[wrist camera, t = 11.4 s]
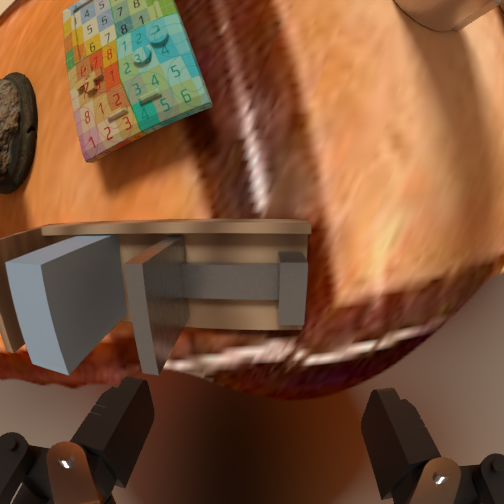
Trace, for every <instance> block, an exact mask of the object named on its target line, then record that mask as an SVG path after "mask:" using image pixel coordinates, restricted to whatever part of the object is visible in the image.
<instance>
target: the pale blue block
mask: <svg viewBox="0 0 504 504" xmlns="http://www.w3.org/2000/svg"><path fill="white" fill-rule="evenodd" d="M5 264H6V270H7V275H8V280H9V285H10V290H11V294H12V299H13V303H14V307H15V310H16V314H17V318H18V321H19V325H20V328H21V332H22V335H23V338H24V341H25V344H26V347H27V350H28V353H29V355H30V358H31V361H32V364H35V365H38V366H41V367H44V368H47V369H50V370H53V371H56V372H60V373H63V374H66V375H70V374H71V372H72V371H73V370H74V369H75V368H76V367H77V366H78V365H79V364H80V363H81V362H82V360H83V359H84V358H85V357H86V356H87V355H88V354H89V353H90V352H91V351H92V350H93V349H94V348H95V346H96V345H97V344H98V343H99V342H100V341H101V340H102V339H103V338H104V337H105V336H106V335H107V334H108V333H109V332H110V331H111V330H112V329H113V328H114V326H115V325H116V324H117V323H118V322H119V321H120V320H121V319H122V318H123V317H124V316H125V315H126V314H127V307H126V300H125V293H124V286H123V278H122V269H121V260H120V249H119V237H118V234H82V235H78V236H75V237H72V238H69V239H67V240H64V241H61V242H58V243H55V244H52V245H50V246H47V247H44V248H41V249H39V250H36V251H33V252H31V253H28V254H26V255H23V256H20V257H18V258H15V259H13V260H10V261H8V262H5Z"/></svg>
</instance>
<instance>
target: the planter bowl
mask: <svg viewBox="0 0 504 504" xmlns="http://www.w3.org/2000/svg"><path fill="white" fill-rule="evenodd" d="M500 7H501V9H502V10H503V11H504V0H501V4H500Z"/></svg>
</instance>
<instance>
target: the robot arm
mask: <svg viewBox="0 0 504 504" xmlns="http://www.w3.org/2000/svg"><path fill="white" fill-rule="evenodd" d="M394 1H395V2H396V3H397V4H398V6H399V7H400V8H401V9H402V10H403V11H404V12H405V13H406V14H407V15H409V16H410V17H411V18H412V19H414V20H415V21H417V22H418V23H420V24H421V25H423V26H425V27H427V28H429V29H432V30H435V31H440V32H445V31H449V30H452V29H453V30H455V31H459V30H461V29H462V28H464V27H465V26H467V25H468V24H470V23H471V22H473V21H474V20H476V19H478V18H479V17H481V16H482V15H484V14H485V13H487V12H489V11H490V10H492V9H493V8H495V7H497V6H498V5H500V4H501V0H394ZM153 421H154V407H153V402H152V398H151V394H150V390H149V385H148V383H147V381H146V380H142V379H137V378H132V377H125V378H124V379H123V381H122V382H121V384H120V386H119V387H118V388H115V387H112V388H110V389H109V390H107V391H106V392H104V393H103V394H102V395H101V396H100V398H99V399H98V401H97V402H96V405H94V406H93V408H92V409H91V412H90V413H89V414H88V416H87V417H86V418H85V420H84V421H83V423H82V424H81V426H80V427H79V429H78V430H77V432H76V433H75V435H74V436H73V438H72V439H71V440H70V441H69V442H66V441H65V442H59V443H56V444H55V445H53V446H52V447H51V448H43V447H37V446H31V445H29V444H28V443H27V441H26V440H25V438H24V437H23V436H22V435H20V434H18V433H14V432H9V433H6V434H4V435H2V436H1V437H0V504H10V502H11V500H12V498H13V496H14V494H15V493H16V491H17V489H18V487H19V485H20V484H21V483H22V486H21V488H20V490H19V491H18V493H17V495H16V497H15V499H14V500H13V503H12V504H116V501H115V499H114V497H113V494H112V490H113V487H114V485H116V486H119V487H122V488H126V485H127V483H128V480H129V478H130V476H131V473H132V471H133V468H134V466H135V464H136V462H137V459H138V457H139V455H140V452H141V450H142V448H143V445H144V443H145V441H146V438H147V436H148V433H149V431H150V429H151V427H152V424H153ZM424 425H425V424H424V423H423V421H422V419H420V415H419V414H418V412H417V410H416V408H415V407H414V406H413V405H412V404H411V403H409V402H408V401H407V400H406V399H403V400H400V398H399V396H398V394H397V392H396V390H395V389H394V388H386V389H377V390H373V391H372V392H371V395H370V398H369V401H368V403H367V406H366V409H365V412H364V414H363V417H362V421H361V431H362V435H363V438H364V442H365V445H366V448H367V451H368V455H369V458H370V461H371V464H372V468H373V471H374V475H375V478H376V481H377V485H378V489H379V492H380V496H381V499H382V500H384V499H388V498H393V501H394V504H504V455H501V454H491V455H489V456H487V457H486V458H485V459H484V460H483V461H482V462H481V464H480V465H470V466H459V465H458V464H457V463H456V462H454V461H453V460H451V459H449V458H445V457H441V455H440V453H439V451H438V449H437V447H436V445H435V443H434V441H433V440H432V438H431V436H430V434H429V432H428V430H427V428H426V427H425V426H424Z"/></svg>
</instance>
